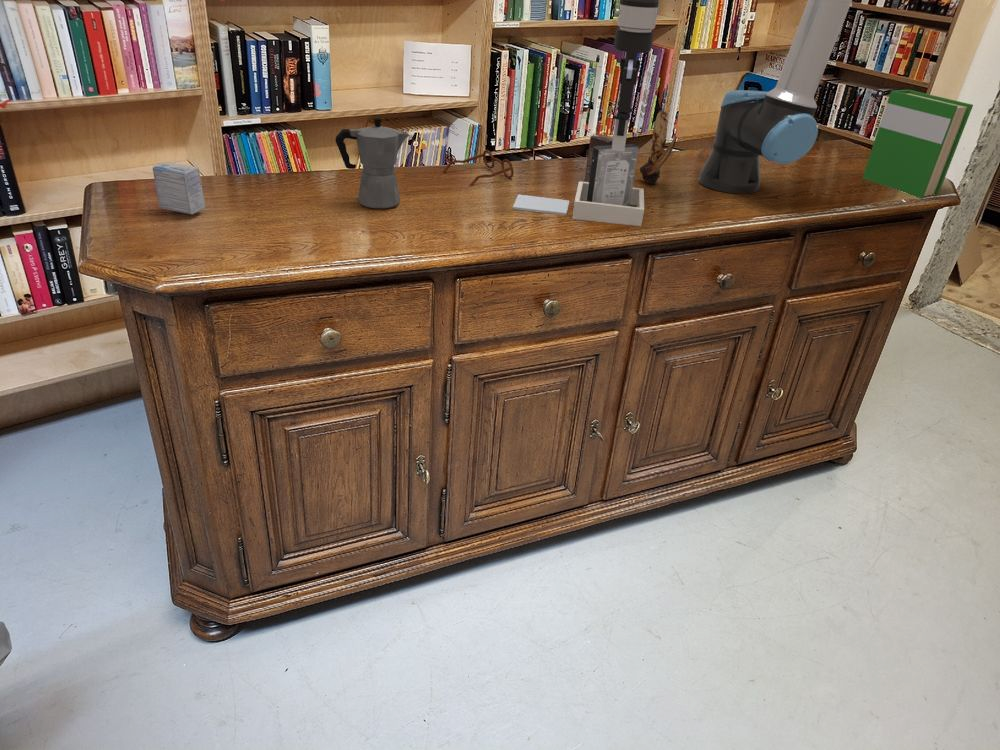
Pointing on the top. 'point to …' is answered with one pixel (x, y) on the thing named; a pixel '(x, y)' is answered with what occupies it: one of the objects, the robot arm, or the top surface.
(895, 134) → the hardback book
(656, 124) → the bone fish hook
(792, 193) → the top surface
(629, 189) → the disk drive
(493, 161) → the glasses
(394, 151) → the coffeepot
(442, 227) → the top surface
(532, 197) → the mat
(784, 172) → the top surface
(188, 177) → the medicine box
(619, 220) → the storage box
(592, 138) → the box
